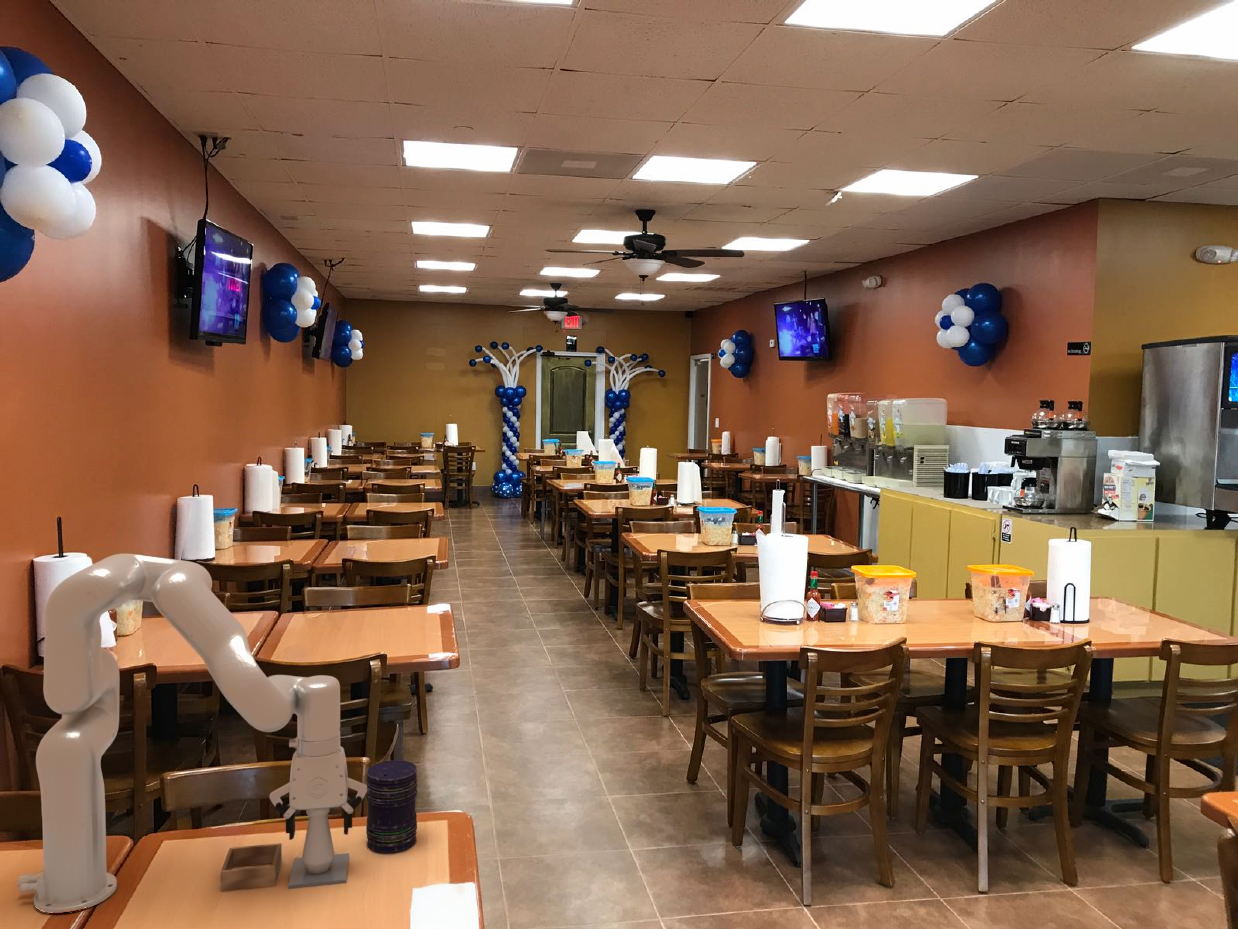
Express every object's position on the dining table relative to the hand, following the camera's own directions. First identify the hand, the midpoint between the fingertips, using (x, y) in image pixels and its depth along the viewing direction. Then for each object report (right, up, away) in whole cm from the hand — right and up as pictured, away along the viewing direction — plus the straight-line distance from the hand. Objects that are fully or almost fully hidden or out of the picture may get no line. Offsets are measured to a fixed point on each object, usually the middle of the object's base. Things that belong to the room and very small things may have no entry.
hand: (319, 833), depth 170 cm
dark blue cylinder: (+10, -7, +12) cm, 17 cm away
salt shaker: (0, -7, 0) cm, 7 cm away
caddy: (-12, -7, -1) cm, 14 cm away
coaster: (0, -7, 0) cm, 7 cm away
